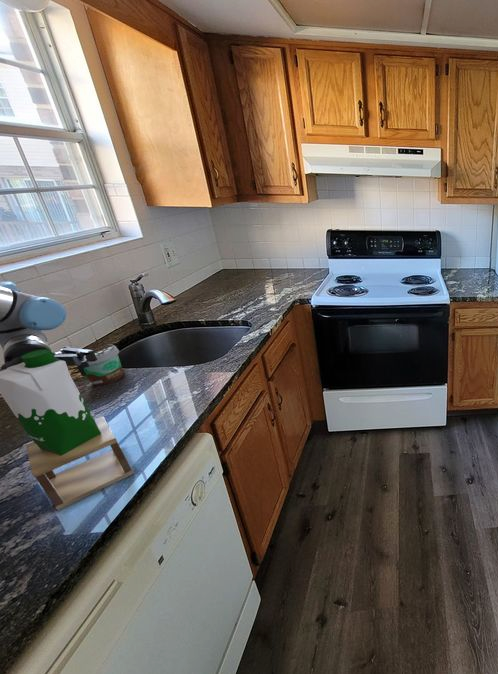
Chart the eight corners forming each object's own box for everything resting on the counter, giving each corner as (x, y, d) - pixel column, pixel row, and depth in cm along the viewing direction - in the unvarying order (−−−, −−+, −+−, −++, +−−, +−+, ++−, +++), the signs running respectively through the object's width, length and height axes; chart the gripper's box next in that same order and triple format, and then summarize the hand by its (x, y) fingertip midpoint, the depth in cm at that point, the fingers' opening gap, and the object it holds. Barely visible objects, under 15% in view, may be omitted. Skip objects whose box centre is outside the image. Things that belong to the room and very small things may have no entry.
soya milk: (108, 431, 80) (65, 350, 71) (57, 460, 72) (2, 373, 63) (83, 424, 82) (38, 345, 74) (31, 451, 74) (-26, 366, 66)
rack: (49, 480, 81) (25, 445, 76) (120, 449, 89) (102, 415, 85) (57, 510, 73) (31, 473, 69) (134, 473, 82) (115, 437, 78)
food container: (108, 388, 116) (94, 360, 111) (88, 388, 116) (74, 361, 111) (138, 368, 127) (126, 342, 122) (120, 369, 127) (108, 343, 122)
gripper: (103, 349, 97) (122, 374, 84) (-45, 391, 79) (-49, 430, 67) (90, 323, 93) (108, 345, 81) (-67, 361, 76) (-75, 396, 64)
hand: (37, 384), depth 74 cm, fingers open, 13 cm apart
